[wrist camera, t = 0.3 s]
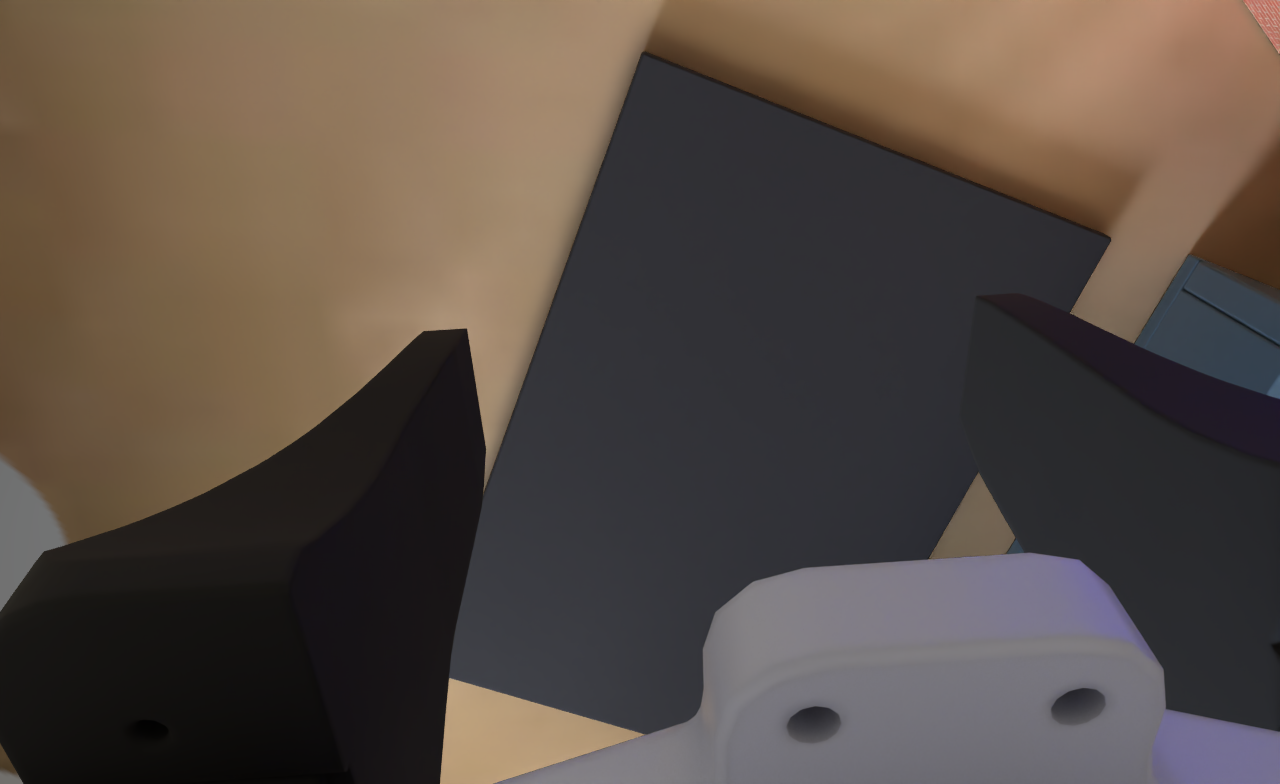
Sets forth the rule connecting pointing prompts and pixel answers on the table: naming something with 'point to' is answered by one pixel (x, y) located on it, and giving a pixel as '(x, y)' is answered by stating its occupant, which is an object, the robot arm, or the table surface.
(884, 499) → the mat
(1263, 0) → the house
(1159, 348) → the blue tray
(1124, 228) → the table surface
